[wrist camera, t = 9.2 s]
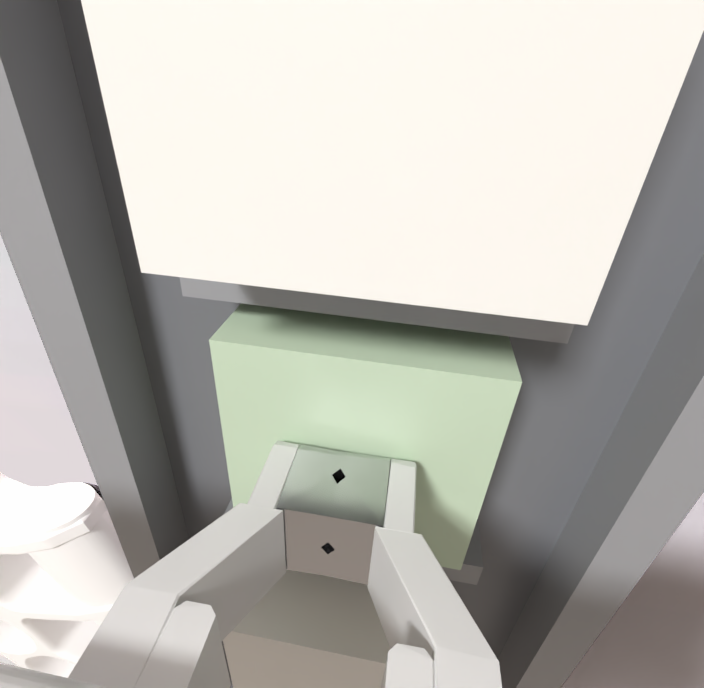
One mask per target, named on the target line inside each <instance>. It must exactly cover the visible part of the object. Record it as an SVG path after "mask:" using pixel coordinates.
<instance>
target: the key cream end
mask: <svg viewBox="0 0 704 688" xmlns="http://www.w3.org/2000/svg"><path fill="white" fill-rule="evenodd" d="M81 3H82V7H83V12H84V16H85V21H86V25H87V30H88V34H89V39H90V44H91V48H92V53H93V57H94V62H95V66H96V71H97V75H98V80H99V84H100V89H101V93H102V98H103V102H104V107H105V111H106V116H107V120H108V125H109V129H110V134H111V138H112V143H113V147H114V152H115V156H116V161H117V165H118V170H119V174H120V179H121V183H122V188H123V192H124V197H125V201H126V206H127V211H128V215H129V220H130V224H131V229H132V233H133V238H134V242H135V247H136V251H137V256H138V260H139V265H140V269H141V273H150V274H158V275H166V276H175V277H183V278H192V279H200V280H208V281H217V282H225V283H234V284H242V285H251V286H259V287H267V288H276V289H284V290H293V291H301V292H309V293H318V294H326V295H335V296H343V297H352V298H360V299H368V300H377V301H385V302H394V303H402V304H410V305H419V306H427V307H436V308H444V309H453V310H461V311H469V312H478V313H486V314H495V315H503V316H511V317H520V318H528V319H537V320H545V321H554V322H562V323H570V324H579V325H588V323H589V320H590V318H591V315H592V313H593V310H594V308H595V305H596V302H597V300H598V297H599V295H600V292H601V290H602V287H603V285H604V282H605V280H606V277H607V275H608V272H609V269H610V267H611V264H612V262H613V259H614V257H615V254H616V252H617V249H618V247H619V244H620V242H621V239H622V236H623V234H624V231H625V229H626V226H627V224H628V221H629V219H630V216H631V214H632V211H633V209H634V206H635V203H636V201H637V198H638V196H639V193H640V191H641V188H642V186H643V183H644V181H645V178H646V176H647V173H648V170H649V168H650V165H651V163H652V160H653V158H654V155H655V153H656V150H657V148H658V145H659V143H660V140H661V137H662V135H663V132H664V130H665V127H666V125H667V122H668V120H669V117H670V115H671V112H672V110H673V107H674V104H675V102H676V99H677V97H678V94H679V92H680V89H681V87H682V84H683V82H684V79H685V77H686V74H687V71H688V69H689V66H690V64H691V61H692V59H693V56H694V54H695V51H696V49H697V46H698V44H699V41H700V38H701V36H702V33H703V31H704V0H81Z"/></svg>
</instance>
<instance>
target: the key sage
mask: <svg viewBox="0 0 704 688" xmlns="http://www.w3.org/2000/svg"><path fill="white" fill-rule="evenodd" d="M209 344H210V351H211V358H212V364H213V371H214V378H215V385H216V392H217V399H218V406H219V413H220V420H221V426H222V433H223V440H224V447H225V454H226V461H227V468H228V475H229V482H230V488H231V495H232V502H233V507H235V506H236V505H238V504H239V503H244V504H247V503H248V501H249V498H250V496H251V494H252V492H253V489H254V487H255V485H256V483H257V480H258V478H259V476H260V474H261V471H262V469H263V467H264V465H265V462H266V460H267V458H268V456H269V453H270V451H271V449H272V447H273V445H274V444H275V443H276V442H277V441H284V442H289V443H295V444H300V445H301V444H303V445H308V446H314V447H319V448H325V449H330V450H336V451H341V452H350V453H357V454H364V455H371V456H378V457H385V458H391V459H398V460H405V461H412V462H415V463H416V466H417V471H416V498H415V525H414V533H417V534H422V535H423V537H424V539H425V540H426V542H427V544H428V545H429V547H430V549H431V550H432V552H433V554H434V555H435V557H436V558H437V560H438V562H439V563H440V565H441V567H446V568H451V569H456V570H461V568H462V565H463V562H464V559H465V556H466V552H467V549H468V546H469V543H470V540H471V537H472V534H473V531H474V528H475V525H476V522H477V519H478V516H479V513H480V510H481V507H482V504H483V501H484V498H485V495H486V492H487V488H488V485H489V482H490V479H491V476H492V473H493V470H494V467H495V464H496V461H497V458H498V455H499V452H500V449H501V446H502V443H503V440H504V437H505V434H506V431H507V428H508V424H509V421H510V418H511V415H512V412H513V409H514V406H515V403H516V400H517V397H518V394H519V391H520V388H521V385H522V379H521V376H520V372H519V369H518V366H517V362H516V359H515V356H514V352H513V349H512V346H511V342H510V339H509V336H501V335H493V334H484V333H476V332H468V331H460V330H452V329H444V328H436V327H428V326H420V325H412V324H404V323H396V322H388V321H380V320H371V319H363V318H355V317H347V316H339V315H331V314H323V313H315V312H307V311H299V310H291V309H283V308H275V307H267V306H259V305H250V304H242V303H241V304H240V305H239V306H238V307H237V309H236V310H235V311H234V312H233V313H232V314H231V315H230V316H229V318H228V319H227V320H226V321H225V322H224V323H223V324H222V326H221V327H220V328H219V329H218V330H217V331H216V332H215V333H214V335H213V336H212V337H211V338H210V339H209ZM390 461H391V460H390Z"/></svg>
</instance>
